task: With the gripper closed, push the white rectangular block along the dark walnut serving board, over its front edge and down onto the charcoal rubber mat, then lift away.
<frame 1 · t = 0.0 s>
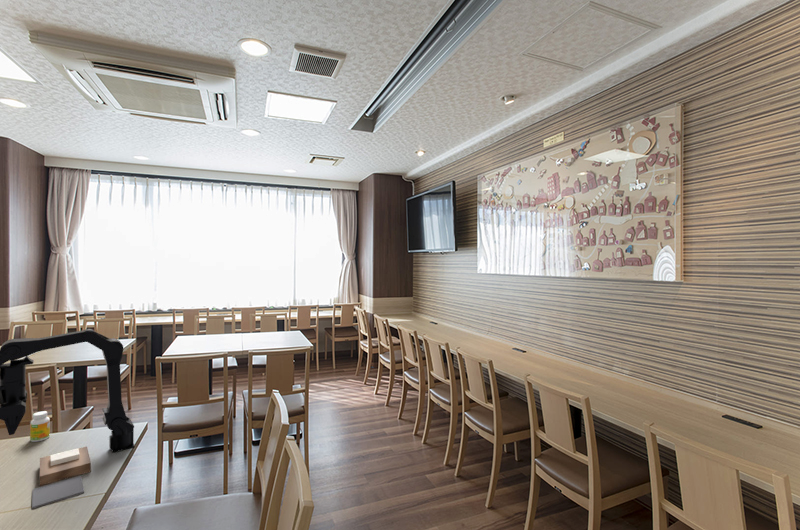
hand: (12, 429, 120), 15 cm above the table, fingers open, 9 cm apart
serving board: (65, 469, 124), on the table
white rectangular block: (65, 459, 125), point 3 cm above the table, touching serving board
supplement bottle: (40, 439, 144), on the table
mat: (58, 491, 113), on the table
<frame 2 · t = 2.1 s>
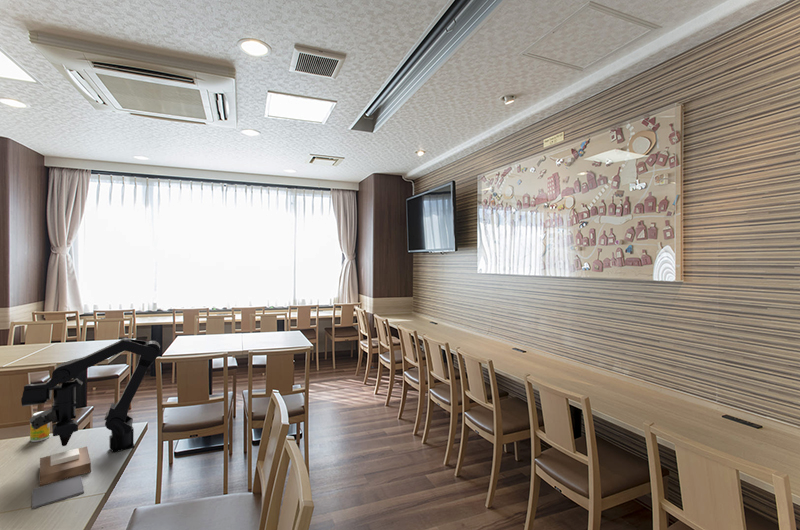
hand: (64, 445, 131), 4 cm above the table, fingers closed
nothing on the table moved.
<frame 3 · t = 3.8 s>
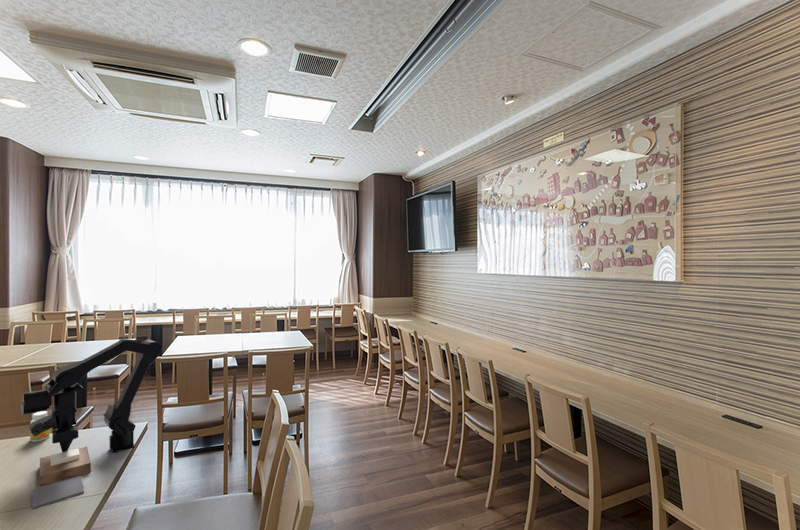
hand: (64, 452, 127), 4 cm above the table, fingers closed
white rectangular block: (65, 459, 125), point 3 cm above the table, touching gripper, serving board
everything else where it was.
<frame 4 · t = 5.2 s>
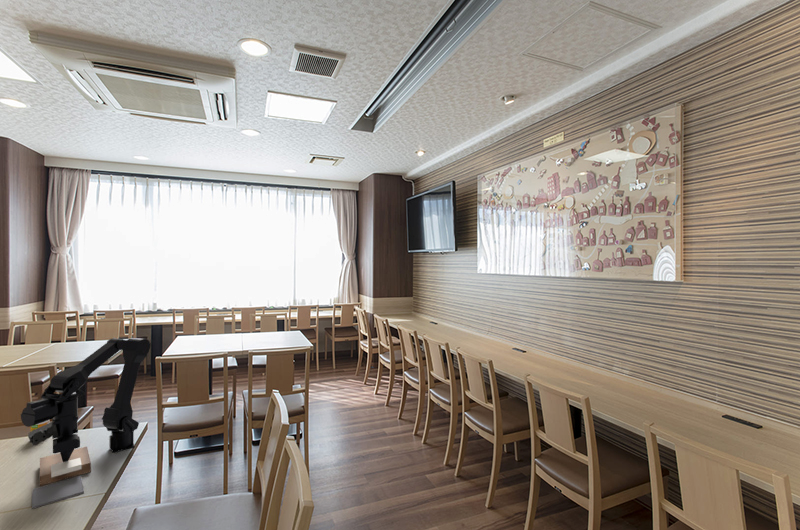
hand: (65, 462, 121), 4 cm above the table, fingers closed
white rectangular block: (66, 469, 119), point 3 cm above the table, touching serving board
everything else where it was.
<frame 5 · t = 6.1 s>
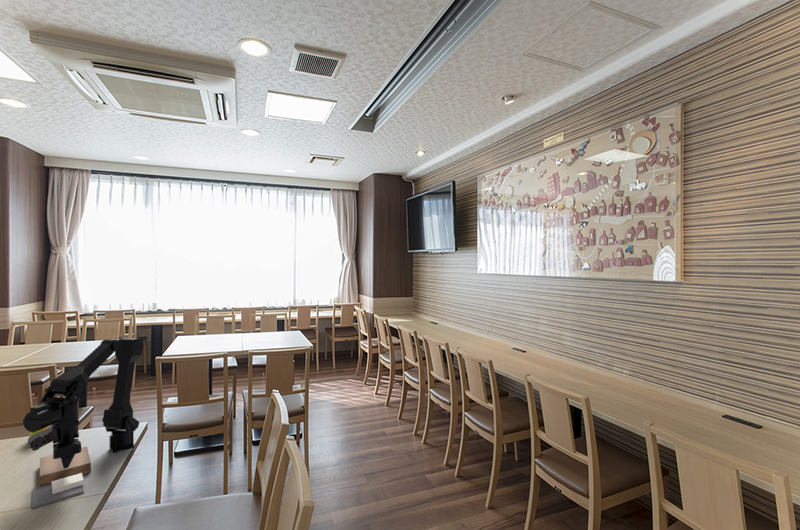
hand: (66, 467, 118), 4 cm above the table, fingers closed
white rectangular block: (67, 480, 115), point 2 cm above the table, tilted 180°, touching mat
everything else where it was.
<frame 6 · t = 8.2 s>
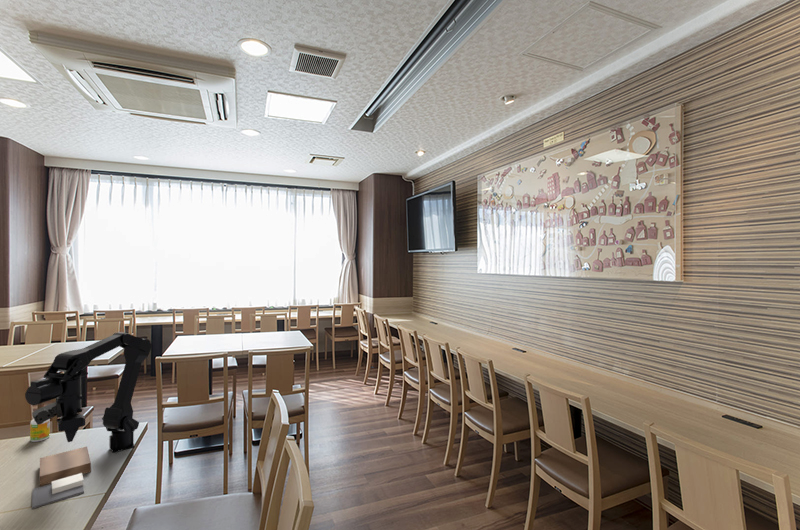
hand: (69, 441, 121), 11 cm above the table, fingers closed
nothing on the table moved.
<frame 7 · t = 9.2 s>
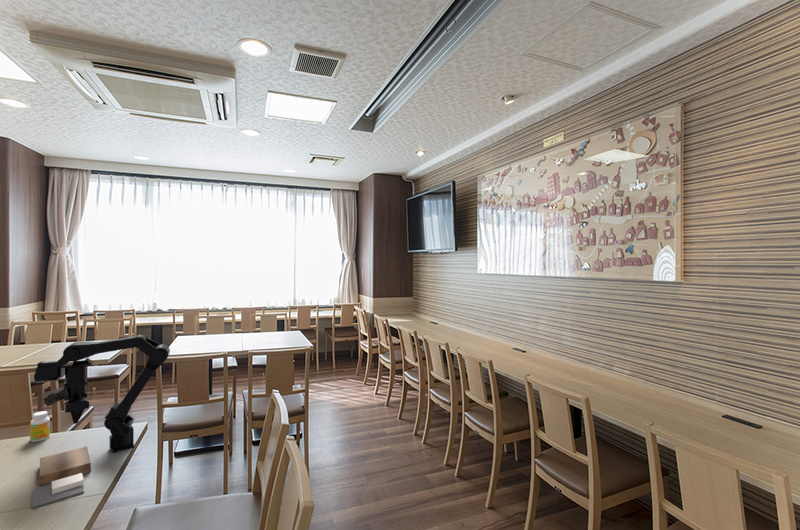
hand: (75, 423, 134), 11 cm above the table, fingers closed
nothing on the table moved.
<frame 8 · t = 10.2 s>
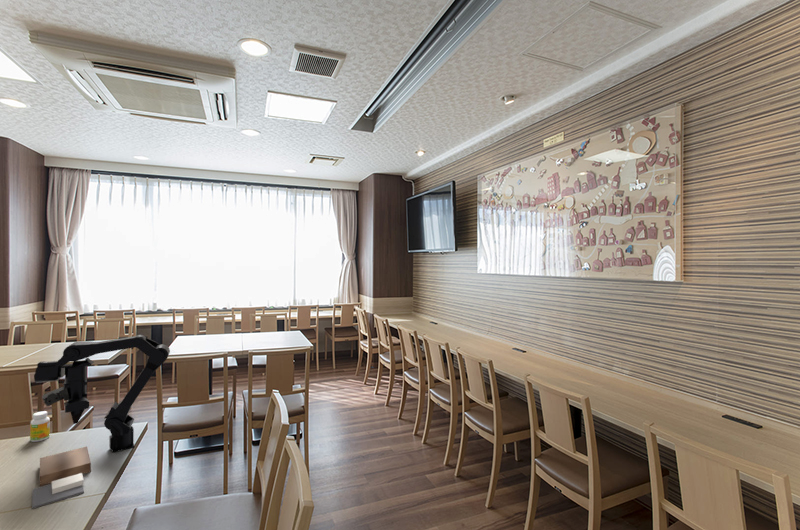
hand: (75, 423, 134), 11 cm above the table, fingers closed
nothing on the table moved.
at the end: white rectangular block inside the target area (2.4 cm from its centre), point 2.0 cm above the table; white rectangular block touching mat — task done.
